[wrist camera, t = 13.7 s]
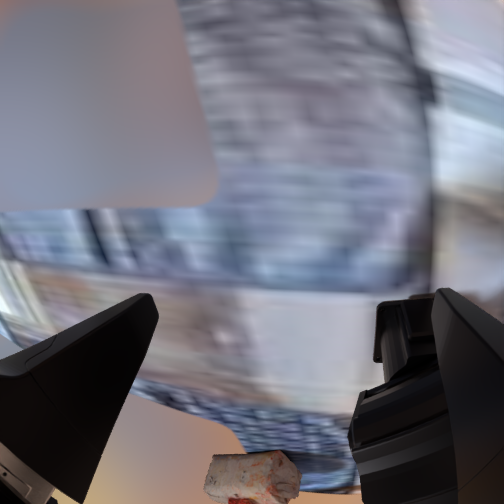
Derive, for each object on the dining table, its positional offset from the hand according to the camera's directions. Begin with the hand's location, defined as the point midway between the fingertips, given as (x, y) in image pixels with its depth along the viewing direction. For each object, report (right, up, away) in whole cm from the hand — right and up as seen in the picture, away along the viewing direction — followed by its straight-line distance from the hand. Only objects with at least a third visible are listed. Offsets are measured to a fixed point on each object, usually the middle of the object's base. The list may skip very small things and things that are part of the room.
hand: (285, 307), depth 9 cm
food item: (0, -31, +31) cm, 43 cm away
